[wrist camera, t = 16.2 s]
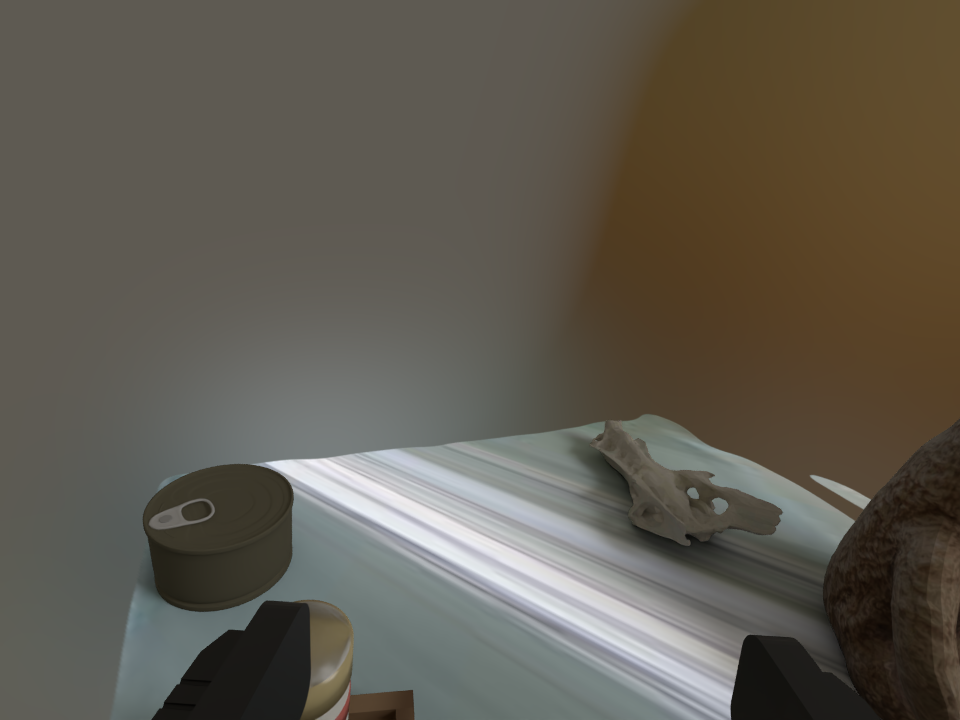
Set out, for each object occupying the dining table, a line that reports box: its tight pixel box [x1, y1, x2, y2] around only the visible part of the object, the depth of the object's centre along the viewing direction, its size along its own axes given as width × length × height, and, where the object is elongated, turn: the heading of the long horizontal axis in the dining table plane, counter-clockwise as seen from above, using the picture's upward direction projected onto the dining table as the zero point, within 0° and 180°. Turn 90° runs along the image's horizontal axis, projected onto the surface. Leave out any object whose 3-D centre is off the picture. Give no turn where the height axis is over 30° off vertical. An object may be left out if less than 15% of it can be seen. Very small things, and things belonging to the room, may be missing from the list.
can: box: [143, 464, 294, 612], centre depth 47 cm, size 12×12×7 cm
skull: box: [589, 420, 783, 546], centre depth 63 cm, size 12×8×25 cm
